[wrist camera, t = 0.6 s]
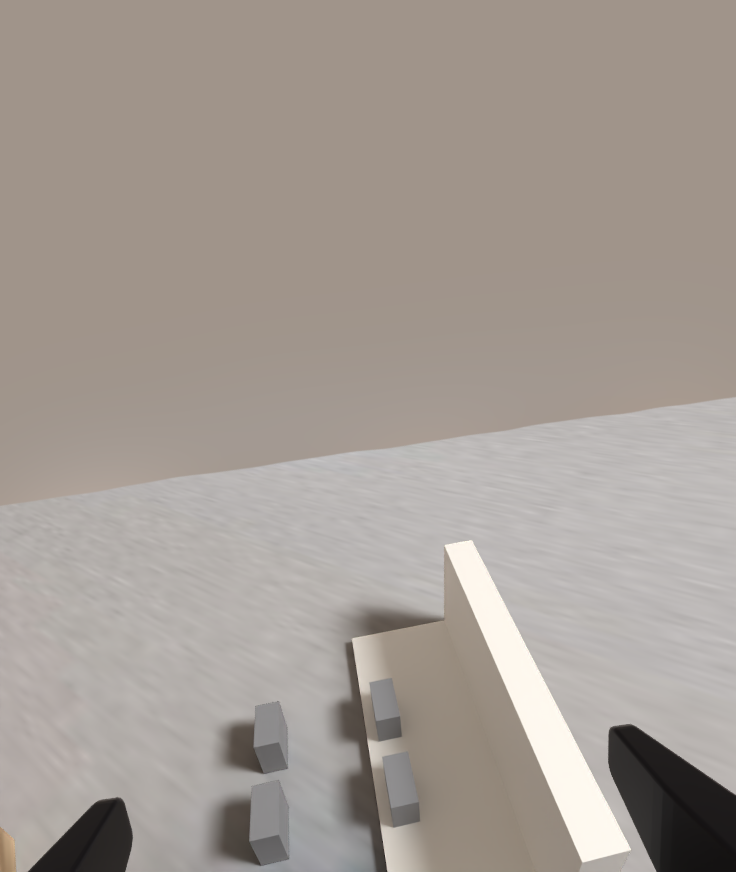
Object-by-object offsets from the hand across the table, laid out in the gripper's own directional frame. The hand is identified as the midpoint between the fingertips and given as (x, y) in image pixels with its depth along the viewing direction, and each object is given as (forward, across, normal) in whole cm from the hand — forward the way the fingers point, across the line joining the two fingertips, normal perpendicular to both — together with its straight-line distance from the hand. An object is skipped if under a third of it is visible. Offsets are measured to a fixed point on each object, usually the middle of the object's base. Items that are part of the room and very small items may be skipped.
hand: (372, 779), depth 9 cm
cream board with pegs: (+12, -1, +13) cm, 18 cm away
